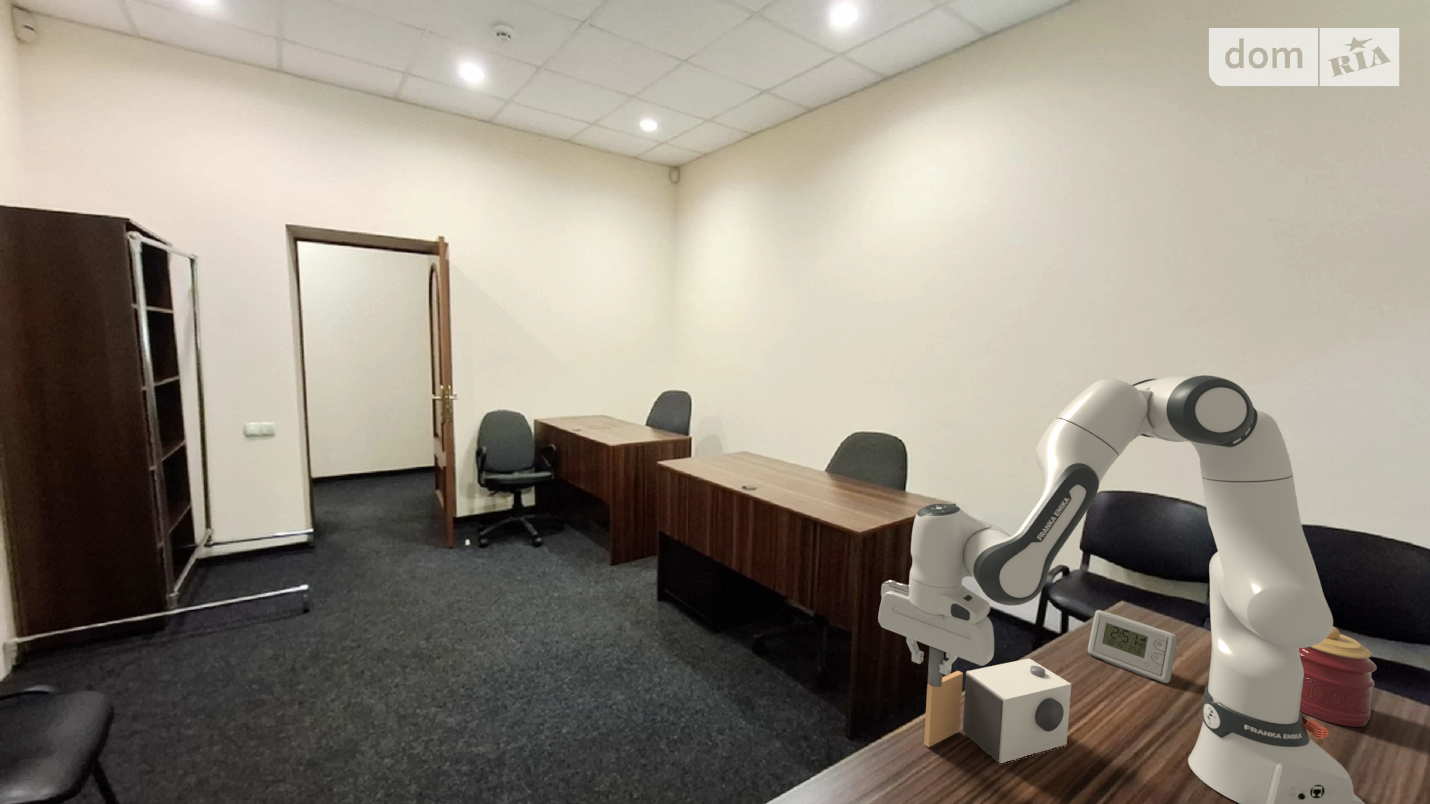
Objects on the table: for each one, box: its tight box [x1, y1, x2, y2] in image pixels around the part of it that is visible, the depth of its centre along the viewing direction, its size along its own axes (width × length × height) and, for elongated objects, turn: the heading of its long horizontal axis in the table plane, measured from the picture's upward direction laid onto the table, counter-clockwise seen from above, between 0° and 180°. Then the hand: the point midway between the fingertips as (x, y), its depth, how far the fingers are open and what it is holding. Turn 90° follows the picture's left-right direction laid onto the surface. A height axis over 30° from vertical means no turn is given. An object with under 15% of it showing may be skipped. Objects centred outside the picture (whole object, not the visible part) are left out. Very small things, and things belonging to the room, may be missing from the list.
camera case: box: [962, 658, 1072, 764], centre depth 104 cm, size 16×10×13 cm, turn 109°
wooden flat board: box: [923, 646, 964, 748], centre depth 104 cm, size 2×9×19 cm, turn 121°
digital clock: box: [1087, 609, 1178, 684], centre depth 130 cm, size 16×9×11 cm, turn 27°
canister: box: [1299, 626, 1377, 728], centre depth 116 cm, size 13×13×18 cm
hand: (930, 667), depth 102 cm, fingers open, 4 cm apart
